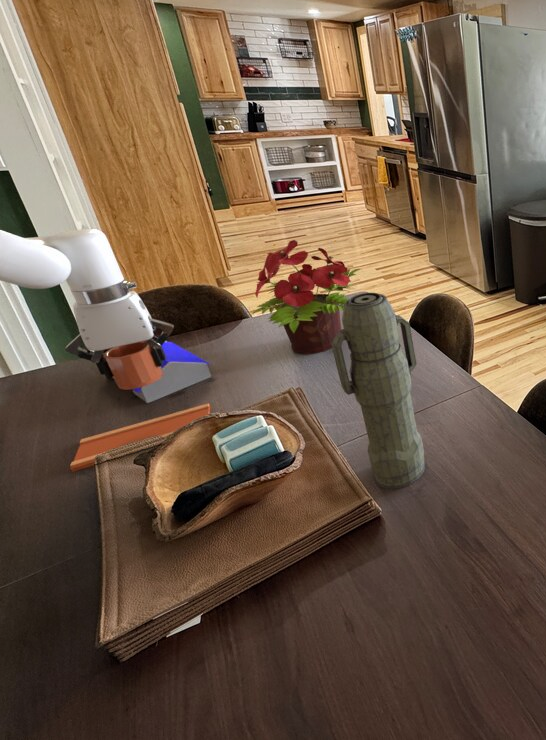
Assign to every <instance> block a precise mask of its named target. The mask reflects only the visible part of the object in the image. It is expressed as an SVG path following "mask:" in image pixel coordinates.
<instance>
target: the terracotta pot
mask: <svg viewBox="0 0 546 740" xmlns="http://www.w3.org/2000/svg"><path fill="white" fill-rule="evenodd" d="M103 355H104V356H103V357H104V359H105V361H106V363H107V365H108V368H109V370H110V372H111V374H112V376H113V378H114V379H113V378H112V379H113V380H114V382H115V384H116V385H117V388H118V389H119V390H124V391H126V390H127V391H128V390H132V389H136V388H140V387H143V386H146V385H149V384H151V383H153V382H155V381H157V380H159V379H160V378H161V377H162V376H163V371H162V368H161V366H160V367H159V366H157V364H156V361H155V359H154V357H153V354H152V347H151V346H149V345H148V344H146V343H145V342H143V341H142V342H138V343H133V344H129V345H124V346H120V347H115V348H110V349H108V350H107V351H106V352H103Z"/></svg>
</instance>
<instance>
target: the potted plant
mask: <svg viewBox="0 0 546 740" xmlns="http://www.w3.org/2000/svg"><path fill="white" fill-rule="evenodd" d="M298 244H299V243H298V241H297V240H295V239H292V240H290V241H288V243H287V246H285V247H283V248H281V249H277V250H276V251H275V252H269V253H268V254H267V256H266V258H265V262H264V265H263V268H262V269H261V270H260V271H259V272H258V278H257V280H258V281H256V289H255V293H254V296H255V297H256V298H259V293H260V291H261V289H262V288H263V287H264V285H266V284H271V285H269V286H266V287H265V289H268V294H271V293H273V296H272V298H270V299H269V300H267V301H264V303H262V304H258V305H257V306H256V307H257V309H255V310H254V311H253V312H252V313H251V314H250V315H251V316H253V315H254V314H256V313H259V312H261V315H264V314H265V313H266V312H267V311H269V313H270V314H271V315H270V316H269V317H268V322H269V323H270V322H272V325H273V324H279V323H280V324H279V325H278V327H277V328H280V327H283V329H284V331H285V332H286V333H285V334H286V335H287V338H288V340H289V342H290V347H291V350H292V352H294V353H296V354H299V355H312V354H318V353H322V352H326V351H328V350H332V345H331V343H332V341H333V339H334V337H335V335H336V334H337V333H340V330H342V323H341V322H342V321H341V314H340V312H341V311H342V312H343V309H344V304H345V302H346V301H347V300H348V299H349V297H345V296H346V293H341V294H340V292H348V293H351V291H350V290H351V289H352V290H353V291H354V290H356V287H357V285H354V284H353V285H352V284H349V283H351V282H352V281H351V279H350V277H353V276H357V274H356V272H359V271H360V270H362V269H363V268H355V269H353V270H351V268H348V267H346V265H345V263H344V262H343V261H342V260H336V261H333V259H334V257H333V256H332V255H329V253H328V252H327V250H326V249H324V248H321V247H318V248H317V250H318V251H319V252H320V253H321V254H322V255H323V257H325V258H321V257H319V256H316V255H312V256H310V258H311V259H312V260H314V261H325V262H326V265H323V266H319V267H318V266H317V267H316V268H315V267H314V268H313V266H312V265H311V264H310V263H304V262H305V261H306V260H307V258H308V256H309V253H308V252H307V251H305V250H300V251H297V252H295V253H294V254H291V255H290V253H291V252H292V251H293V250H294V249H295V248H297V247H298ZM289 255H290V256H289ZM301 264H302V265H301ZM281 265H285V266H292V267H293V268H294V269H295V270H296V272H292V273H290V274H289V275H288V277H287V279H280V280H279V281H277V282H271V279H272V278H274V277H275V276H276V275H277V273H278V272H279V270H280V269H281V267H280V266H281ZM299 265H301V269H300V270H299V269H298V268H297V267H296V266H299ZM266 273H267V274H266ZM352 287H353V288H352ZM354 287H355V288H354ZM269 288H271V289H269ZM315 288H317V289H316V293H314V292H313V291H314V289H315ZM319 288H322V289H323V290H324V291H326V292H325V293H318V292H319ZM346 289H349V290H346ZM331 292H332V293H331ZM274 310H276V311H275V312H273V311H274ZM340 310H341V311H340Z"/></svg>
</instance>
